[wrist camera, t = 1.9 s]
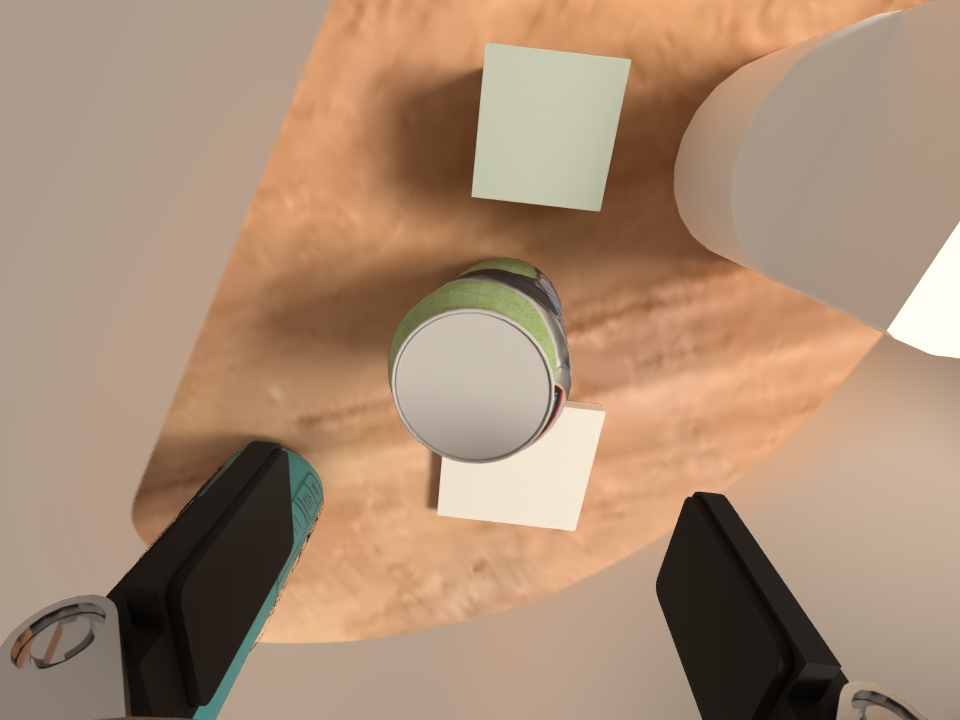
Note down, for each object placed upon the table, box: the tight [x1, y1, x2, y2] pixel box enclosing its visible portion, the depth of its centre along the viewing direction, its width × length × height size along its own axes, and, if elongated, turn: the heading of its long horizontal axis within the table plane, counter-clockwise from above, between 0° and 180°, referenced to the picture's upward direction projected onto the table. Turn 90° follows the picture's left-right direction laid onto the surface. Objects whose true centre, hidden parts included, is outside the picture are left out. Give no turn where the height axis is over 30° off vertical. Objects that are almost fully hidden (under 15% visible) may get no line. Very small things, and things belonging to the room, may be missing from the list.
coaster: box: [437, 401, 606, 531], centre depth 28 cm, size 9×9×1 cm
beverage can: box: [388, 258, 572, 464], centre depth 19 cm, size 6×7×12 cm
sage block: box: [471, 43, 631, 212], centre depth 19 cm, size 5×5×5 cm
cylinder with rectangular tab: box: [674, 0, 960, 358], centre depth 16 cm, size 9×9×12 cm
